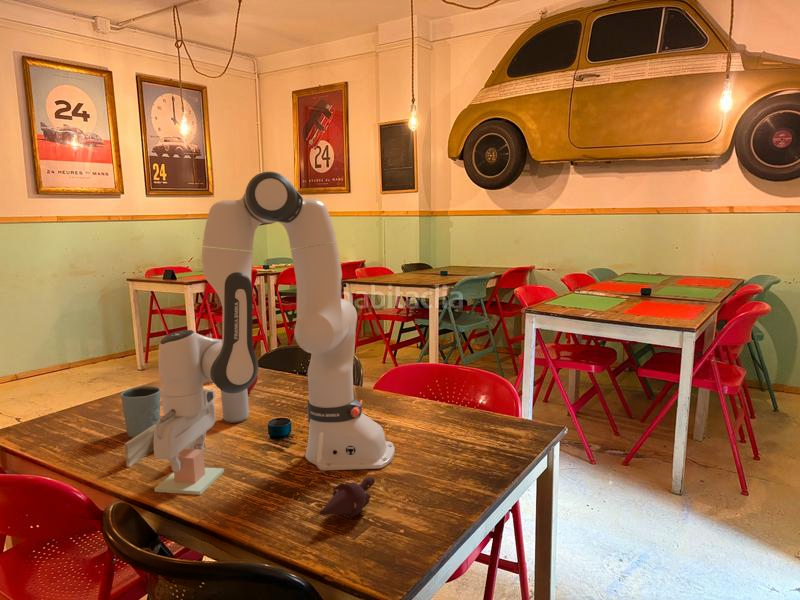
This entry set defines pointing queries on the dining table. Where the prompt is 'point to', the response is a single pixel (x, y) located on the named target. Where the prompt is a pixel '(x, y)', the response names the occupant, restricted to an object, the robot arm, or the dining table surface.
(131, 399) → the grey cup
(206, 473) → the green mat
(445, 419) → the dining table surface
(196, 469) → the block
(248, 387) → the strawberry
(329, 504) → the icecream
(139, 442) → the open box
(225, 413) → the can
